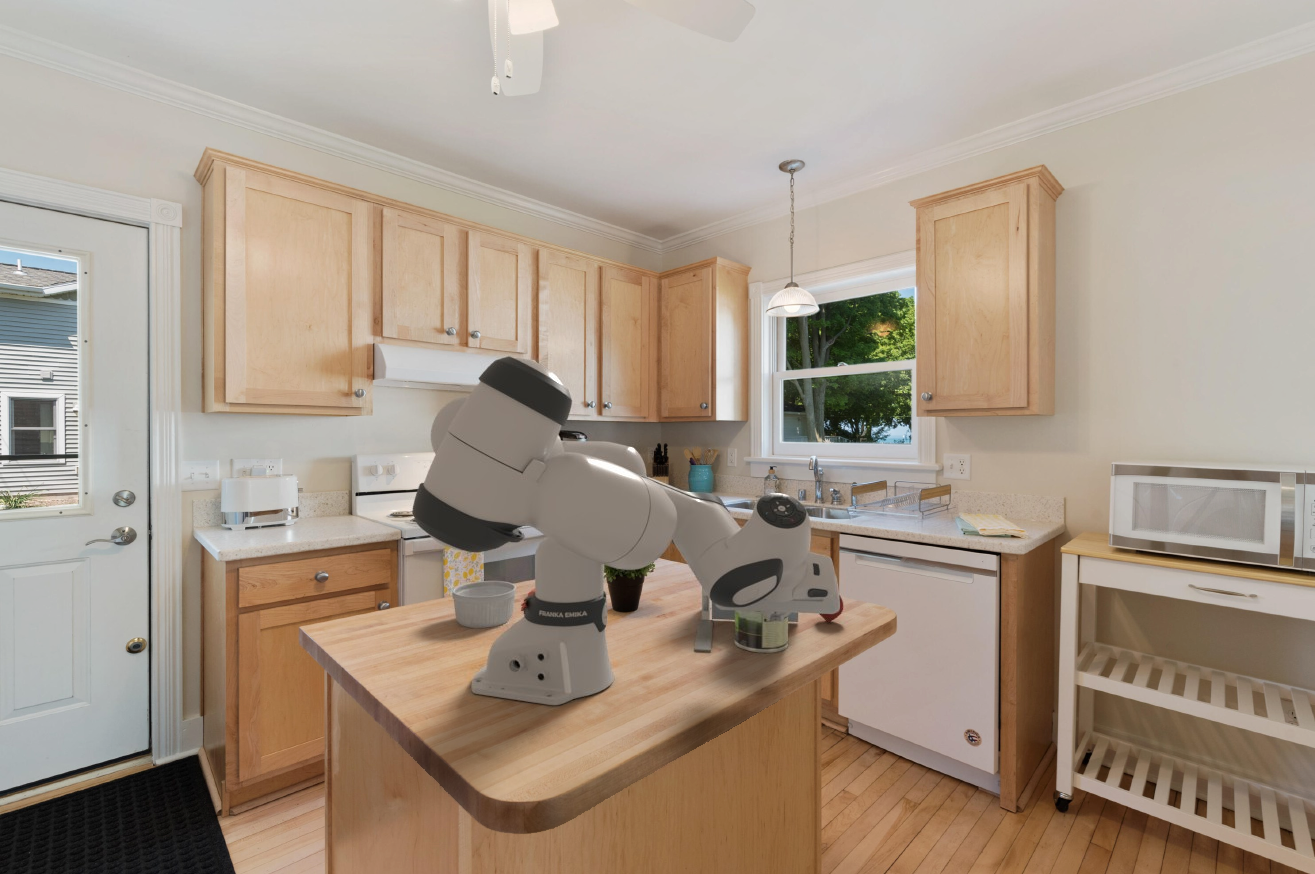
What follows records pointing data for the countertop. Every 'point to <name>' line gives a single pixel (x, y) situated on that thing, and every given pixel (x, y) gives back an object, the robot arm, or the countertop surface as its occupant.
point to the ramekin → (484, 603)
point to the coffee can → (760, 632)
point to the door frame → (704, 626)
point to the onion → (833, 616)
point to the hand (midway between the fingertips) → (775, 617)
